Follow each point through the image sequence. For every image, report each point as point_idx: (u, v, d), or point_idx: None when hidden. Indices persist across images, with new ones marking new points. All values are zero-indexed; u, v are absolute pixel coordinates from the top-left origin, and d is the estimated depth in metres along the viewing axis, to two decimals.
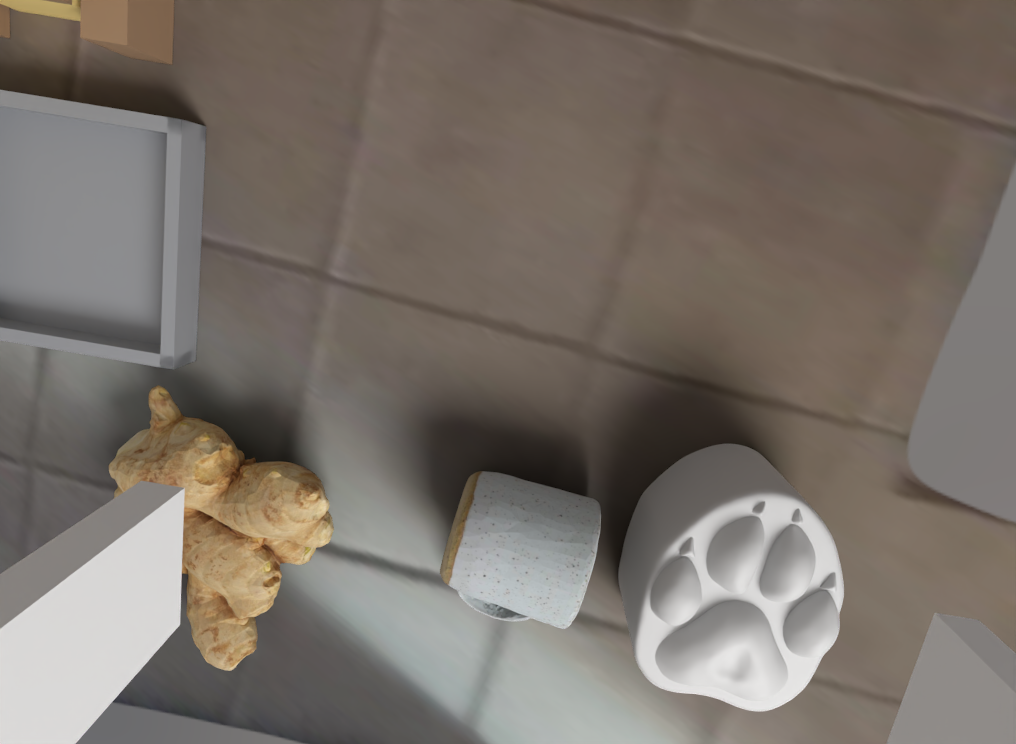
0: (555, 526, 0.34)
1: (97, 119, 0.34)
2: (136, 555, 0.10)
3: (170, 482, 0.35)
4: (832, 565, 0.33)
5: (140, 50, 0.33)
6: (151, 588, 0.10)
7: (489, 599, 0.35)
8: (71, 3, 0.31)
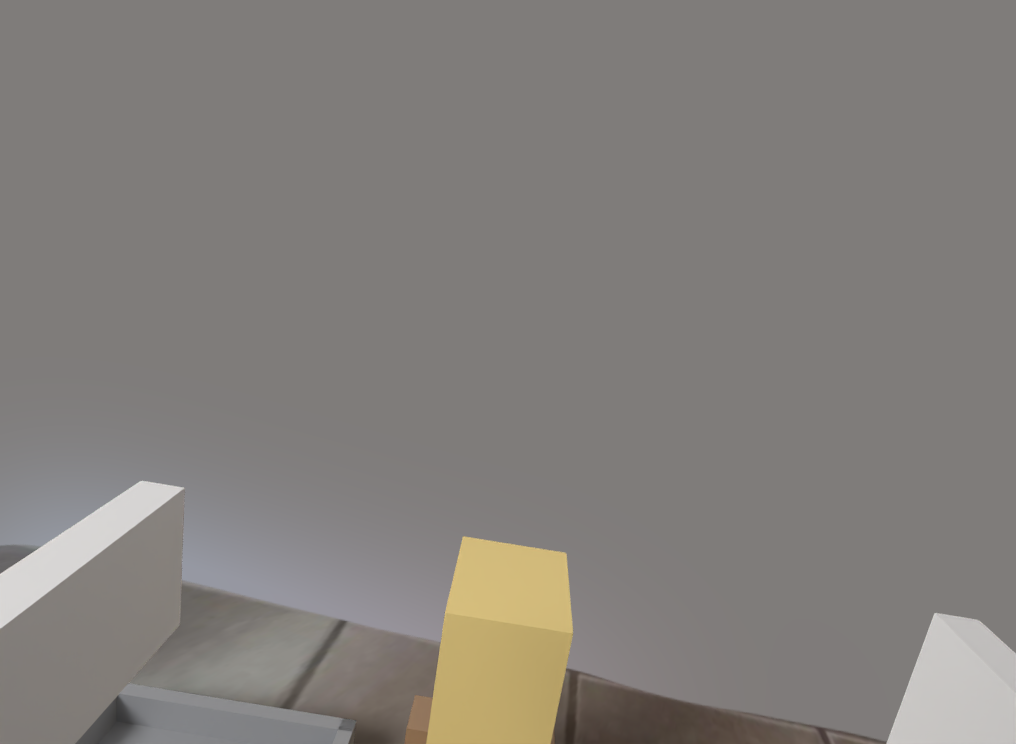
0: None
1: None
2: (136, 555, 0.10)
3: None
4: None
5: None
6: (151, 588, 0.10)
7: None
8: None
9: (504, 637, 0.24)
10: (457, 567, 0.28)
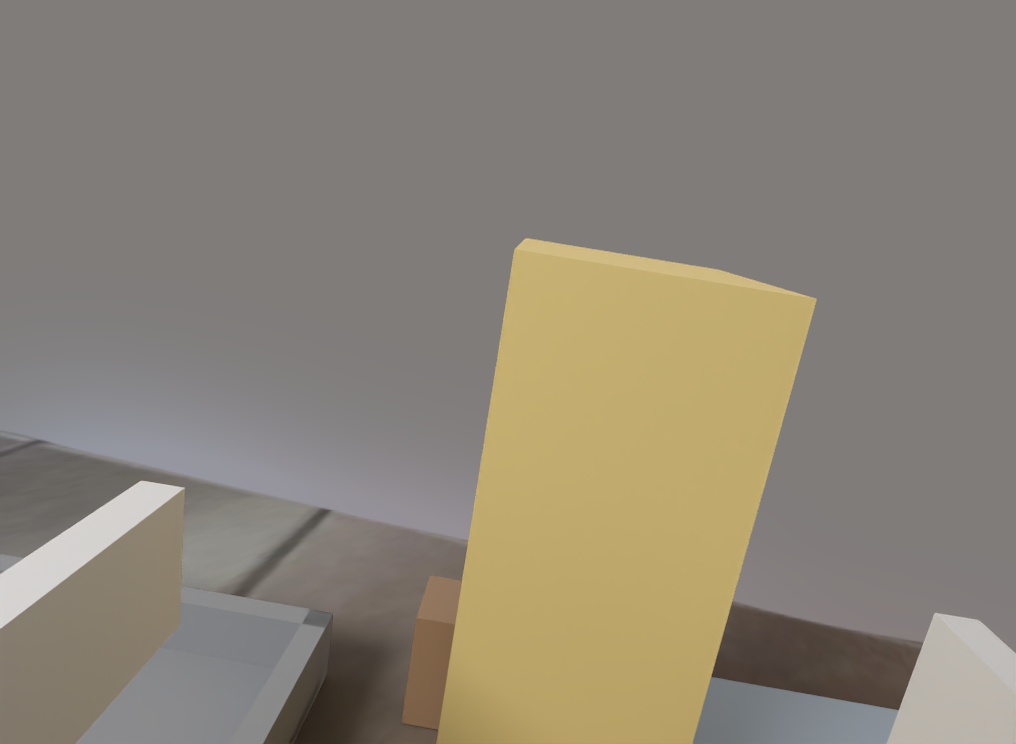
0: None
1: None
2: (136, 555, 0.10)
3: None
4: None
5: None
6: (151, 588, 0.10)
7: None
8: None
9: (653, 313, 0.10)
10: (525, 242, 0.14)
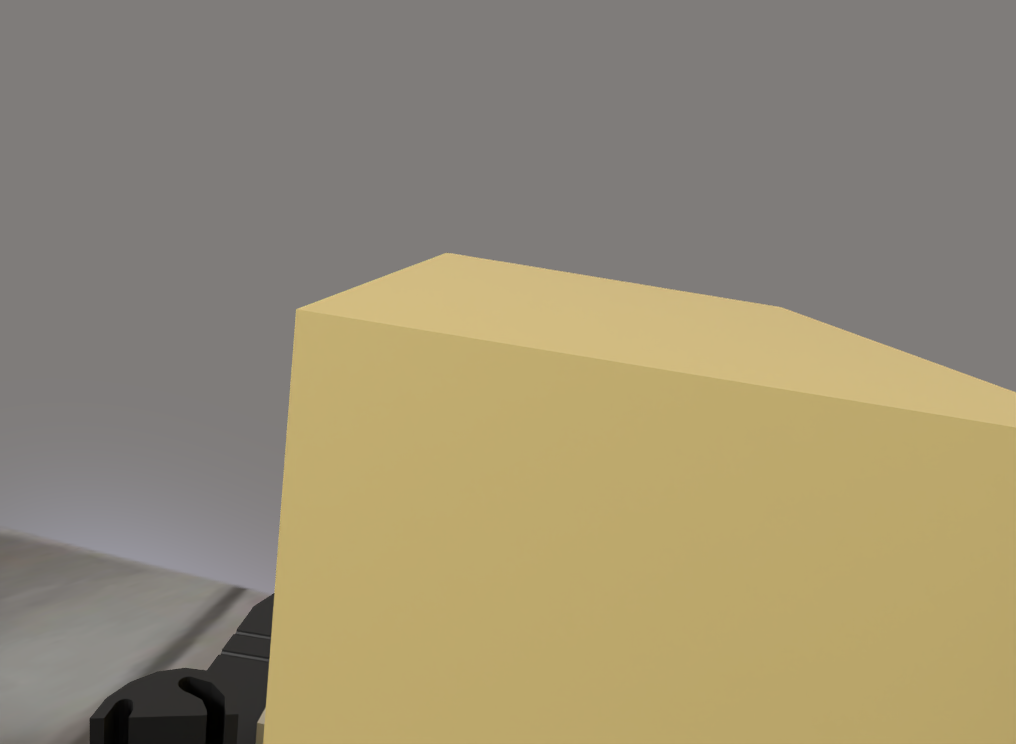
0: None
1: None
2: None
3: None
4: None
5: None
6: None
7: None
8: None
9: (705, 489, 0.04)
10: (417, 267, 0.07)
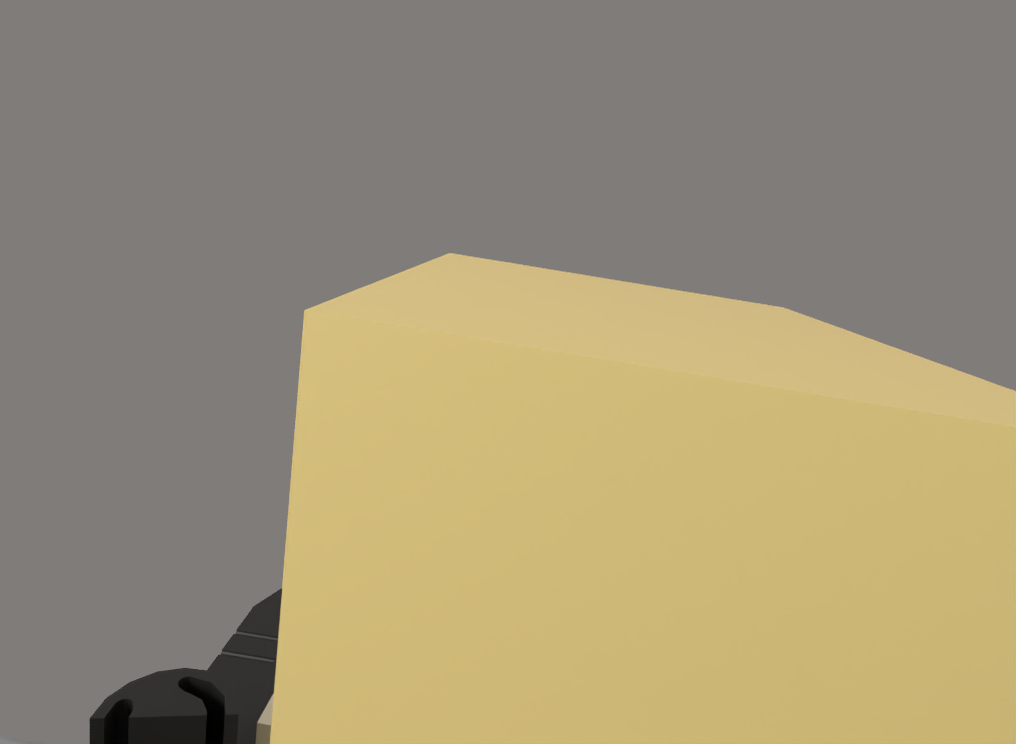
0: None
1: None
2: None
3: None
4: None
5: None
6: None
7: None
8: None
9: (712, 491, 0.04)
10: (422, 268, 0.07)
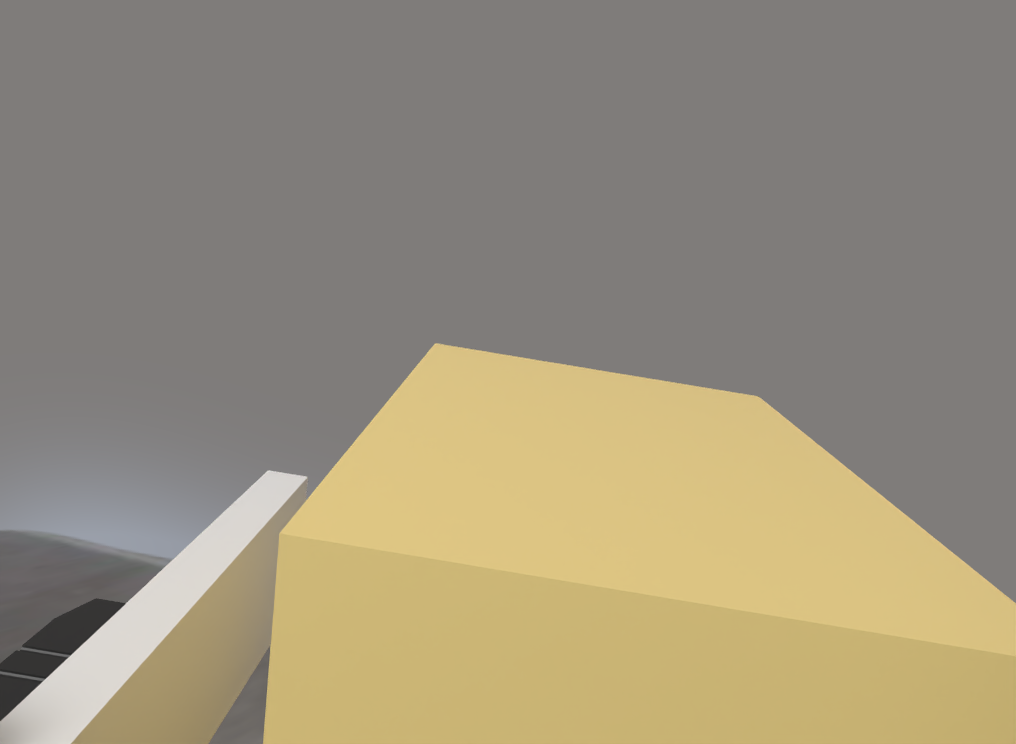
0: None
1: None
2: (278, 535, 0.11)
3: None
4: None
5: None
6: None
7: None
8: None
9: (655, 691, 0.04)
10: (403, 391, 0.07)
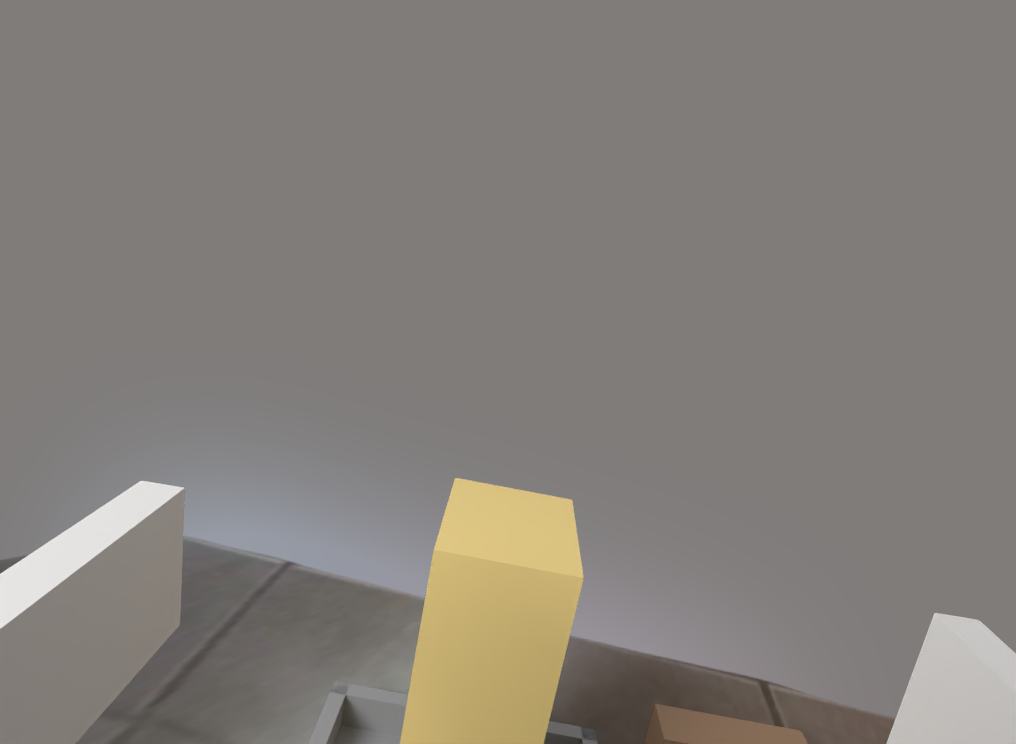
0: None
1: None
2: (137, 554, 0.10)
3: None
4: None
5: None
6: (151, 588, 0.10)
7: None
8: None
9: (503, 581, 0.21)
10: (448, 506, 0.24)
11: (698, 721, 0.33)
